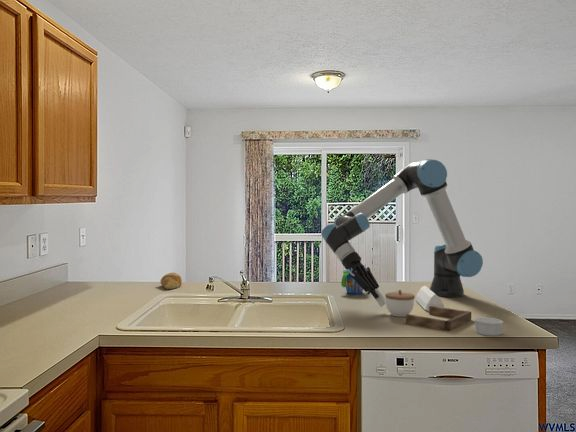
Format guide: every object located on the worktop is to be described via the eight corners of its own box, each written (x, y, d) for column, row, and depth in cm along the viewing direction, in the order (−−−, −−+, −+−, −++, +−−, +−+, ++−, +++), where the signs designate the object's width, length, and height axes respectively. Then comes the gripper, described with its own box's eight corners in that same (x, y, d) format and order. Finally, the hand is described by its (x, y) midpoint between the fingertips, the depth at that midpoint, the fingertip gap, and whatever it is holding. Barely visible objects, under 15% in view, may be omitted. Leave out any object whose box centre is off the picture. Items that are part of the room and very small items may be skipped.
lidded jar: (408, 319, 182) (409, 293, 181) (380, 315, 187) (381, 290, 187) (417, 314, 191) (418, 289, 190) (390, 310, 196) (391, 286, 196)
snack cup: (359, 289, 242) (359, 268, 241) (374, 293, 233) (375, 271, 233) (334, 292, 233) (334, 270, 233) (349, 296, 224) (349, 273, 224)
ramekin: (470, 329, 170) (470, 316, 170) (496, 329, 169) (497, 317, 169) (479, 336, 161) (479, 323, 161) (507, 337, 161) (508, 323, 160)
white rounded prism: (410, 291, 218) (421, 302, 194) (425, 283, 217) (438, 294, 194) (418, 306, 218) (431, 319, 194) (433, 298, 217) (447, 310, 193)
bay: (405, 323, 176) (406, 314, 176) (430, 313, 192) (430, 305, 192) (448, 331, 166) (449, 322, 166) (471, 319, 183) (471, 311, 183)
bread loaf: (174, 297, 234) (182, 282, 234) (154, 287, 233) (162, 272, 233) (179, 288, 255) (187, 275, 255) (162, 279, 254) (169, 265, 254)
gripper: (351, 261, 209) (386, 307, 199) (333, 264, 199) (369, 312, 189) (362, 249, 205) (398, 296, 195) (345, 252, 195) (382, 301, 185)
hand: (384, 304), depth 192 cm, fingers closed
